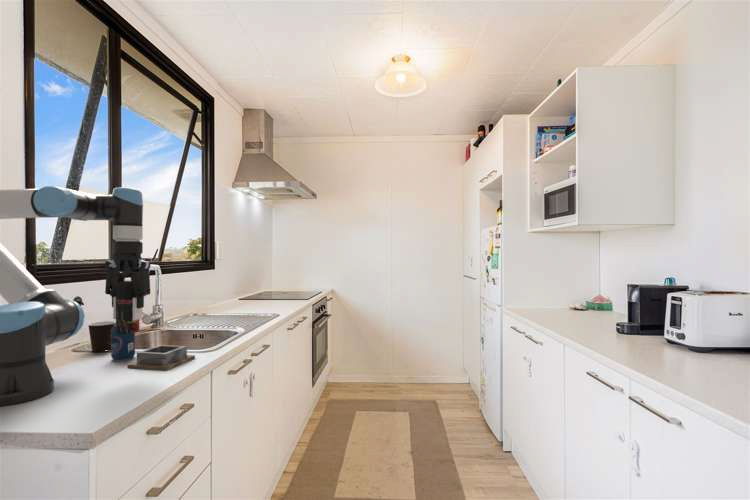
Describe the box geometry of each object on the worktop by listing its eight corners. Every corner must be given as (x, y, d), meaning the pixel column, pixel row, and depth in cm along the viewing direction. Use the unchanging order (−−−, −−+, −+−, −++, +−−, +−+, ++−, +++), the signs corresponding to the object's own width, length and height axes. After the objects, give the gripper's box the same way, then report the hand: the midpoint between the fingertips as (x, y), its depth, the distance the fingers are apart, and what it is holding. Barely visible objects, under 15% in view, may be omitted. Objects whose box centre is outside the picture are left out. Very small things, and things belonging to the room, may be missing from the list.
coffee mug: (102, 353, 144) (102, 326, 144) (82, 352, 146) (82, 325, 146) (128, 345, 155) (128, 320, 155) (109, 344, 157) (109, 319, 157)
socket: (166, 370, 124) (166, 356, 124) (127, 367, 127) (127, 353, 127) (194, 358, 138) (194, 345, 138) (159, 356, 140) (159, 343, 140)
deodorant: (131, 334, 115) (131, 282, 115) (111, 333, 115) (111, 282, 115) (143, 329, 121) (143, 280, 121) (124, 329, 121) (124, 280, 121)
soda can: (106, 360, 135) (106, 325, 135) (124, 355, 142) (124, 321, 142) (121, 362, 133) (121, 326, 133) (139, 356, 140) (139, 322, 139)
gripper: (165, 241, 120) (164, 317, 120) (111, 240, 124) (111, 315, 124) (146, 240, 113) (145, 322, 113) (89, 240, 116) (89, 319, 116)
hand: (127, 318), depth 118 cm, fingers closed on deodorant, 6 cm apart
